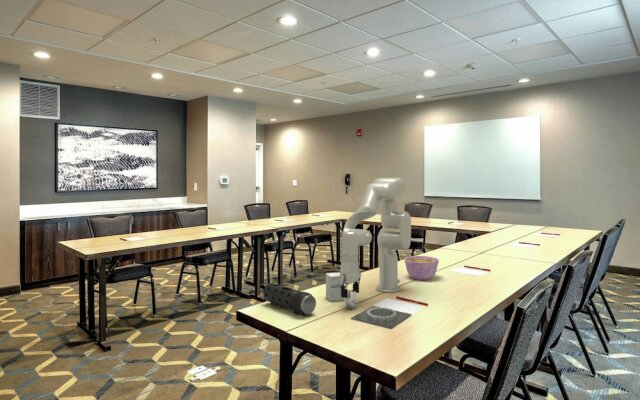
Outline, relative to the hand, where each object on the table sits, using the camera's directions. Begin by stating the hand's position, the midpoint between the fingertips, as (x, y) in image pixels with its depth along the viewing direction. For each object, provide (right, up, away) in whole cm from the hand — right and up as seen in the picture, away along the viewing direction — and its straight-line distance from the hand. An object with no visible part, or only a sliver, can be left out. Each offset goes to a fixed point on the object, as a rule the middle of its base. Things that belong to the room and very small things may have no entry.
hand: (350, 295), depth 178 cm
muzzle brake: (-28, -7, 0) cm, 29 cm away
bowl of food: (+46, -3, +52) cm, 70 cm away
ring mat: (+13, -7, -11) cm, 18 cm away
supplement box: (-7, -6, +15) cm, 17 cm away
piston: (0, -6, +1) cm, 6 cm away
